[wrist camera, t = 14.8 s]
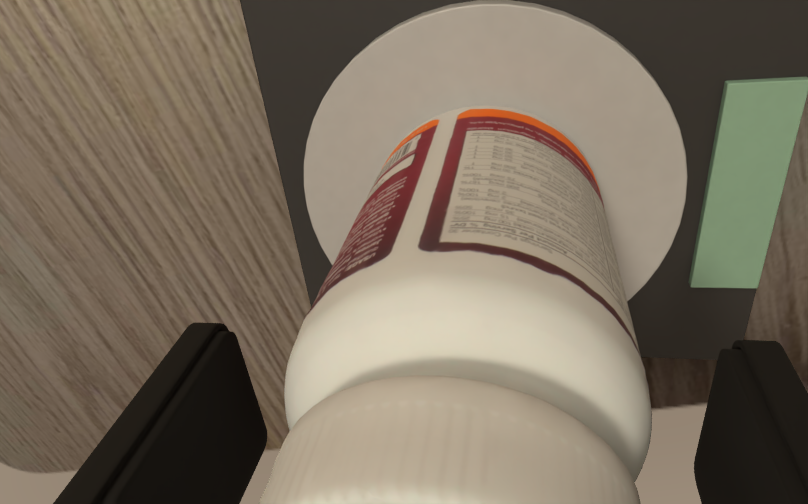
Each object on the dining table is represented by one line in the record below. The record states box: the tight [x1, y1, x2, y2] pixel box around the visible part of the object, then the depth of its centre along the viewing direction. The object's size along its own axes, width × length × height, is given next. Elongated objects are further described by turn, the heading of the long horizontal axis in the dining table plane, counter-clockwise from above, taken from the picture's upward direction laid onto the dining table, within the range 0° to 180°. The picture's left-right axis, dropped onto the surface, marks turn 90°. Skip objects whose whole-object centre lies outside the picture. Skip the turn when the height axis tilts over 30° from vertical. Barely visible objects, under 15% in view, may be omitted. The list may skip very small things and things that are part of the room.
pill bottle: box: [259, 105, 652, 504], centre depth 12 cm, size 6×6×11 cm
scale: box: [240, 0, 808, 360], centre depth 18 cm, size 14×12×3 cm
